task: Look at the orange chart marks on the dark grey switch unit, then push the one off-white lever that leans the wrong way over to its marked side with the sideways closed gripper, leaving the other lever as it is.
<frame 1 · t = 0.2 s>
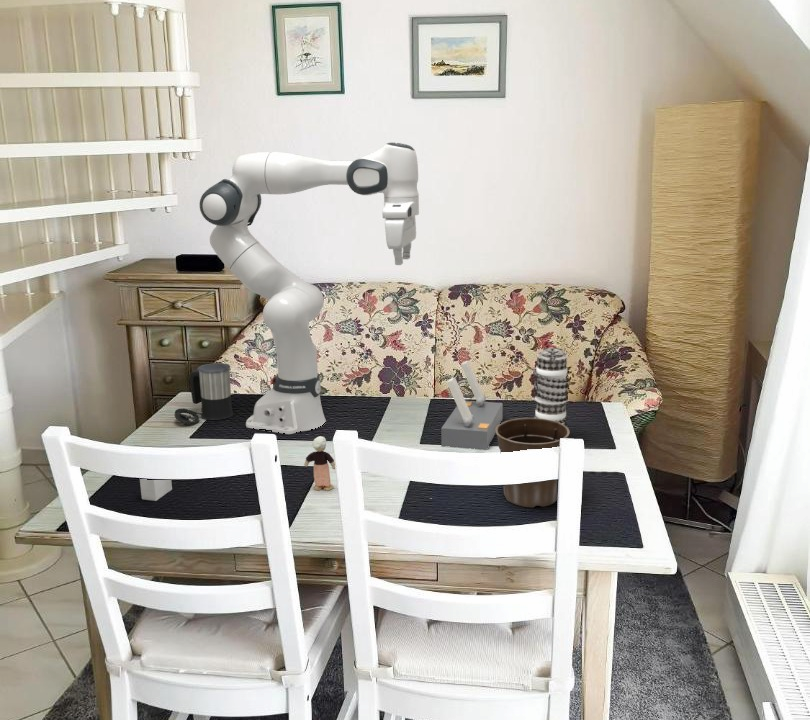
hand: (402, 261, 228), 47 cm above the table, tool pointing down, fingers open, 8 cm apart
switch lever 1: (460, 401, 228), point 11 cm above the table, hinge at -24.0°
grandmother figurine: (321, 488, 205), on the table
plant pot: (530, 498, 197), on the table
milk frother: (205, 419, 254), on the table
decorative candle: (549, 442, 231), on the table
switch lever 2: (473, 383, 244), point 11 cm above the table, hinge at -24.0°
switch unit: (473, 432, 239), on the table
light grey rectangular block: (157, 495, 203), on the table
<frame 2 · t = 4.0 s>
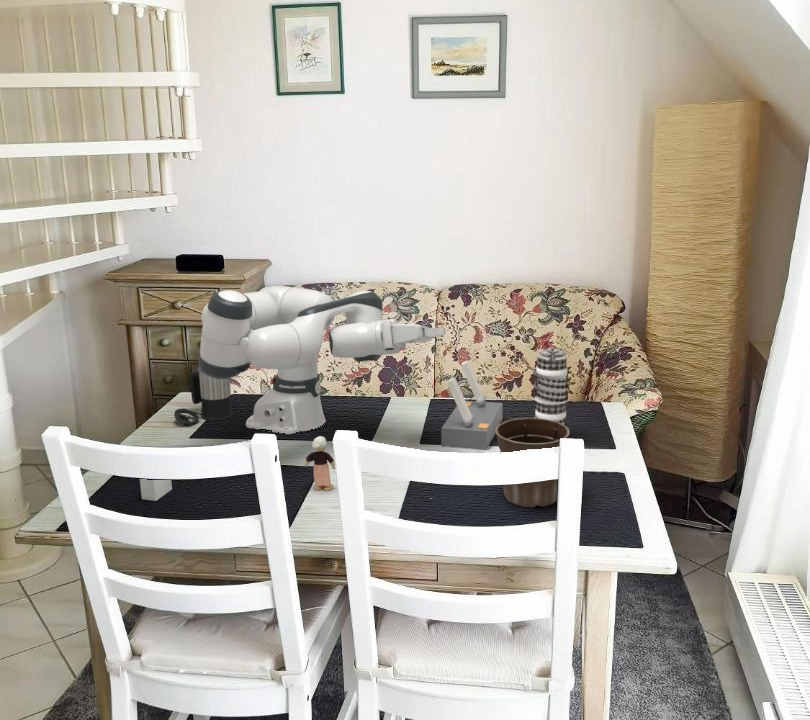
hand: (444, 331, 220), 31 cm above the table, tool horizontal, fingers closed
nothing on the table moved.
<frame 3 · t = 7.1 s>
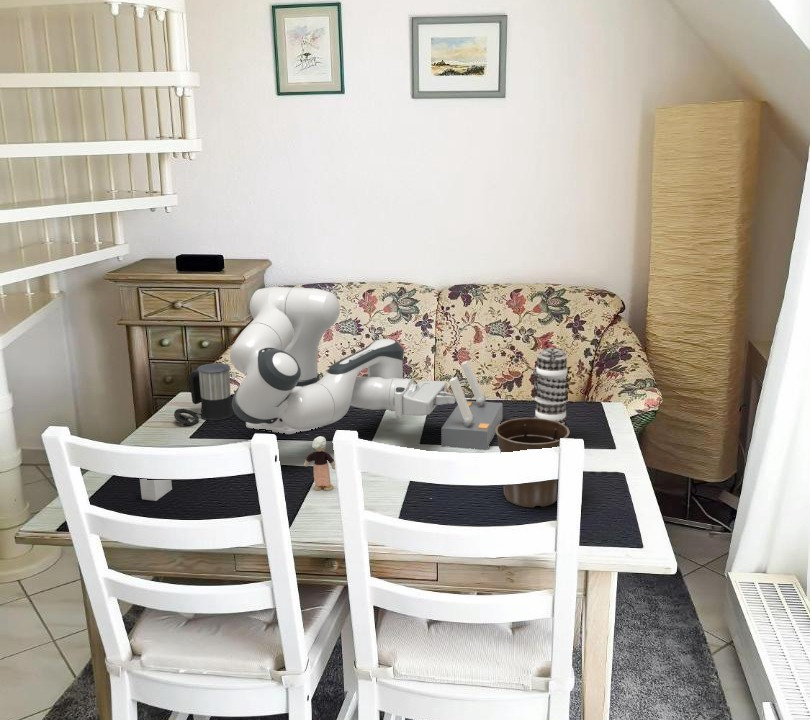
hand: (455, 399, 228), 12 cm above the table, tool horizontal, fingers closed, pressing on switch lever 1
switch lever 1: (461, 401, 228), point 12 cm above the table, hinge at -21.0°, touching gripper
everything else where it was.
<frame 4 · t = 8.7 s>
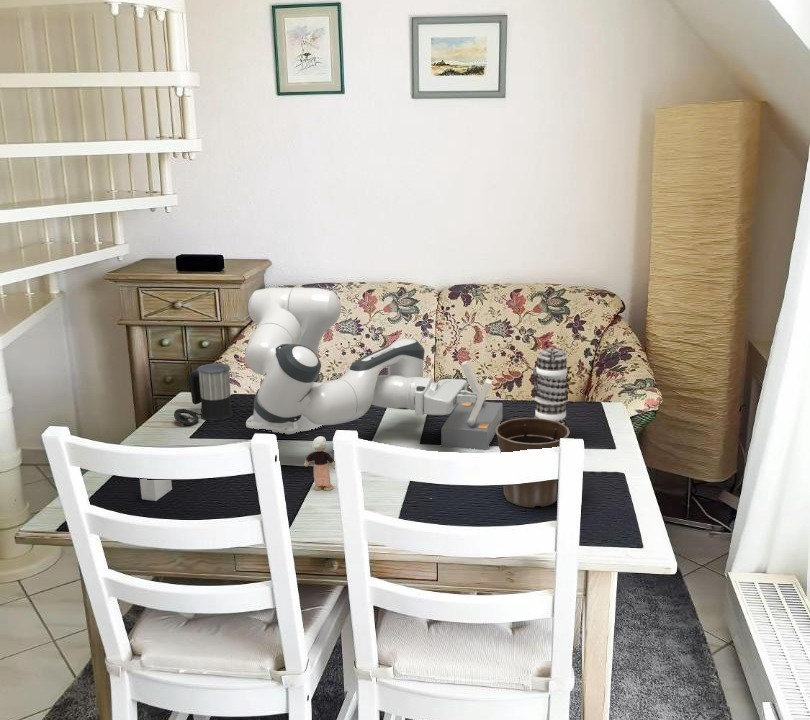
hand: (476, 397, 226), 13 cm above the table, tool horizontal, fingers closed, pressing on switch lever 1
switch lever 1: (479, 402, 227), point 12 cm above the table, hinge at 21.5°, touching gripper
everything else where it was.
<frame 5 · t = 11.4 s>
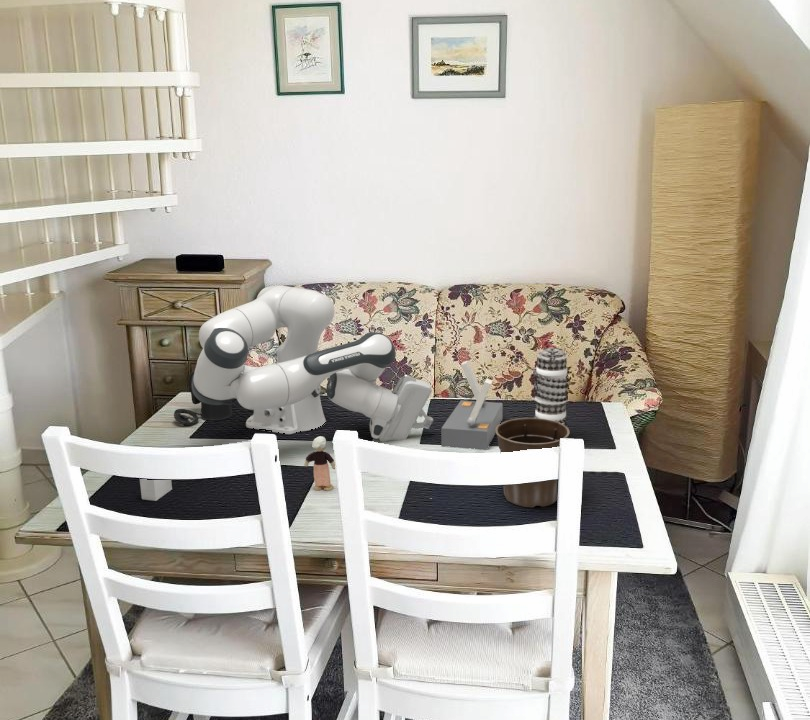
hand: (430, 423, 236), 3 cm above the table, tool tilted 65°, fingers closed
switch lever 1: (479, 402, 227), point 12 cm above the table, hinge at 21.6°
everything else where it was.
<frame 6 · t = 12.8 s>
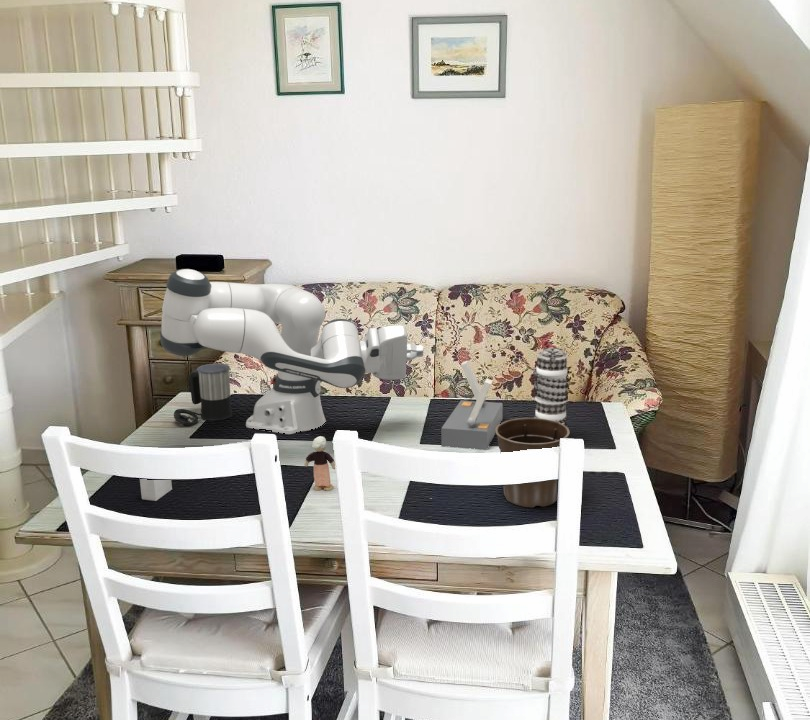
hand: (423, 350, 235), 23 cm above the table, tool horizontal, fingers closed
nothing on the table moved.
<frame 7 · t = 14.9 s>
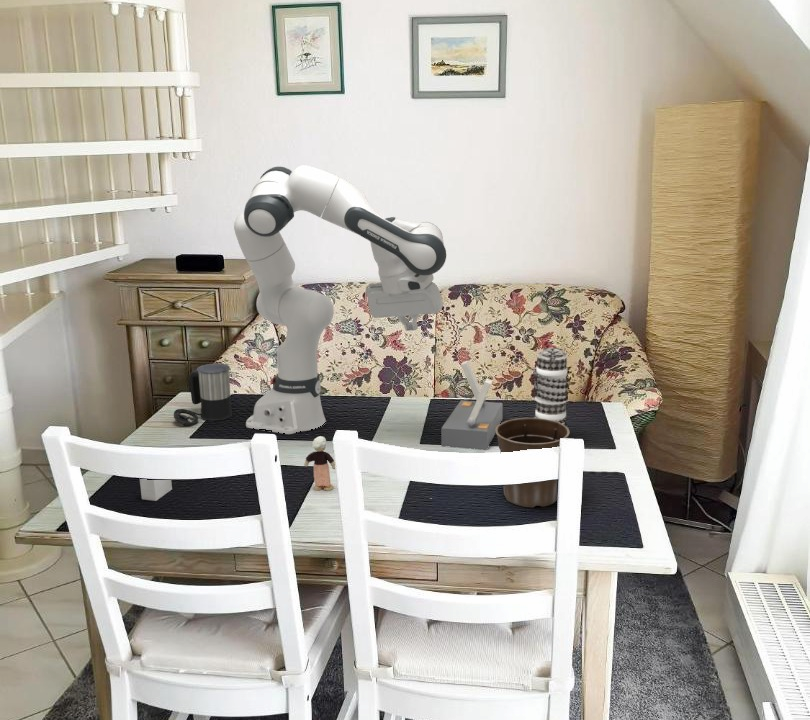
hand: (411, 329, 230), 29 cm above the table, tool tilted 15°, fingers closed
nothing on the table moved.
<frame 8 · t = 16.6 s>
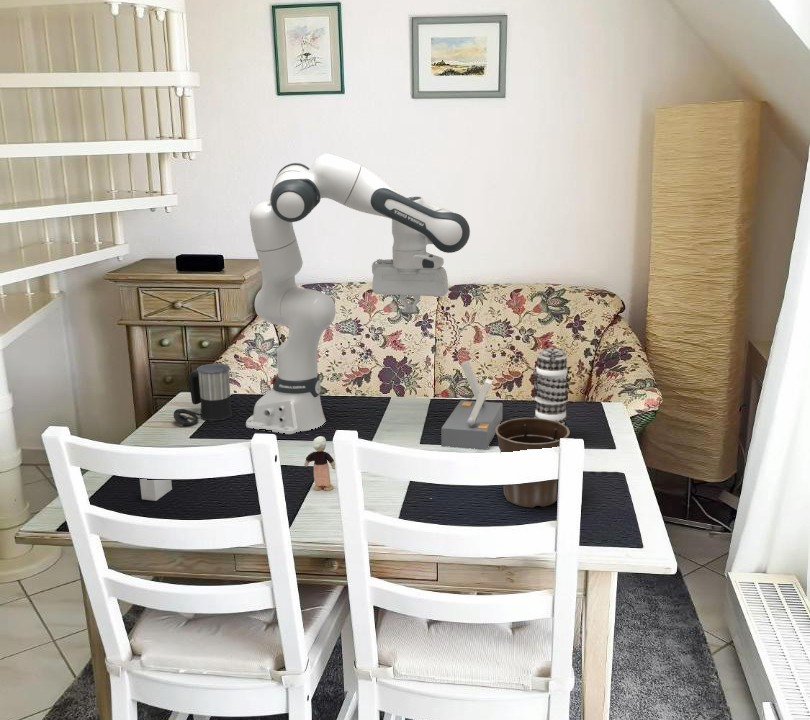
hand: (410, 311, 234), 33 cm above the table, tool pointing down, fingers closed
nothing on the table moved.
at the end: switch lever 1 at +22° (first picture: -24°); switch lever 2 at -24° (first picture: -24°) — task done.
